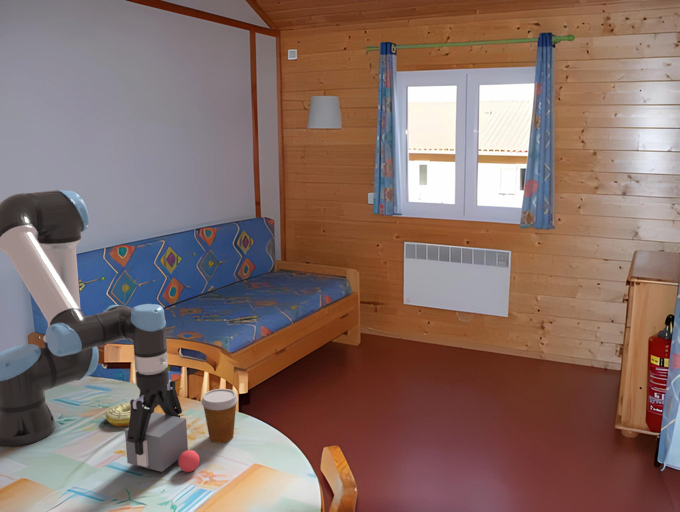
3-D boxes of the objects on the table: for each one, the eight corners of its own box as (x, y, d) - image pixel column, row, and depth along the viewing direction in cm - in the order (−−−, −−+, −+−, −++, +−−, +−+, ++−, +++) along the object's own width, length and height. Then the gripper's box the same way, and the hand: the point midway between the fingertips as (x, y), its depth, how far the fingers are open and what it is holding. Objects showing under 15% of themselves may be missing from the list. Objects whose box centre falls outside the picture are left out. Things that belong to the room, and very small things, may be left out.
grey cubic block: (127, 463, 151) (124, 429, 149) (154, 443, 160) (152, 411, 158) (161, 471, 147) (159, 437, 145) (187, 451, 156) (186, 418, 154)
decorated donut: (153, 420, 177) (152, 408, 176) (116, 432, 170) (115, 419, 169) (137, 408, 184) (136, 396, 184) (101, 419, 177) (100, 407, 177)
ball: (185, 454, 146) (194, 473, 146) (198, 444, 151) (206, 463, 151) (170, 458, 148) (179, 478, 149) (183, 449, 153) (191, 467, 153)
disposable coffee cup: (231, 447, 161) (229, 404, 158) (197, 444, 163) (195, 401, 160) (244, 430, 170) (243, 389, 168) (211, 427, 172) (209, 386, 169)
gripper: (131, 389, 137) (138, 481, 141) (193, 355, 158) (198, 436, 162) (105, 384, 140) (112, 474, 144) (169, 351, 160) (174, 431, 165)
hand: (157, 454), depth 153 cm, fingers closed on grey cubic block, 10 cm apart
